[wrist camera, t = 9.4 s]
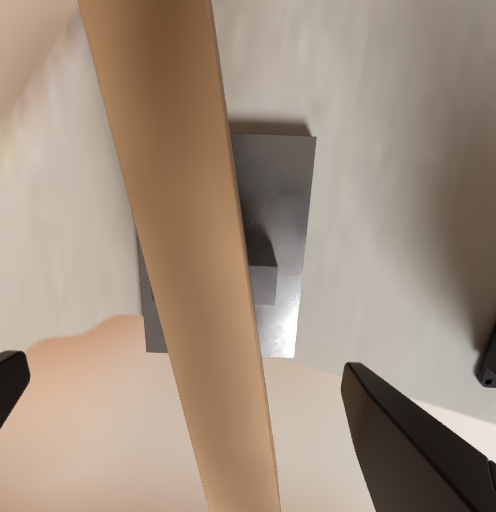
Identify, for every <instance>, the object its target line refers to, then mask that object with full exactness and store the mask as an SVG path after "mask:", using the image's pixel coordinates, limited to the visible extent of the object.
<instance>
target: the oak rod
mask: <svg viewBox="0 0 496 512" xmlns="http://www.w3.org/2000/svg"><path fill="white" fill-rule="evenodd" d="M78 3H79V7H80V11H81V15H82V19H83V23H84V26H85V30H86V34H87V38H88V42H89V46H90V50H91V54H92V58H93V61H94V65H95V69H96V73H97V77H98V81H99V85H100V89H101V93H102V96H103V100H104V104H105V108H106V112H107V116H108V120H109V124H110V128H111V131H112V135H113V139H114V143H115V147H116V151H117V155H118V159H119V163H120V166H121V170H122V174H123V178H124V182H125V186H126V190H127V194H128V198H129V201H130V205H131V209H132V213H133V217H134V221H135V225H136V229H137V233H138V237H139V240H140V244H141V248H142V252H143V256H144V260H145V264H146V268H147V272H148V275H149V279H150V283H151V287H152V291H153V295H154V299H155V303H156V307H157V310H158V314H159V318H160V322H161V326H162V330H163V334H164V338H165V342H166V345H167V349H168V353H169V357H170V361H171V365H172V369H173V373H174V376H175V380H176V384H177V388H178V392H179V396H180V400H181V404H182V408H183V412H184V415H185V419H186V423H187V427H188V431H189V435H190V439H191V443H192V446H193V450H194V454H195V458H196V462H197V466H198V470H199V474H200V478H201V482H202V485H203V489H204V493H205V497H206V501H207V505H208V509H209V512H281V508H280V497H279V486H278V475H277V465H276V457H275V449H274V442H273V435H272V428H271V421H270V414H269V406H268V399H267V392H266V385H265V378H264V371H263V364H262V357H261V350H260V343H259V335H258V328H257V321H256V314H255V307H254V300H253V293H252V286H251V279H250V272H249V265H248V257H247V250H246V243H245V236H244V229H243V222H242V215H241V208H240V201H239V194H238V186H237V179H236V172H235V165H234V158H233V151H232V144H231V137H230V130H229V123H228V116H227V108H226V101H225V94H224V87H223V80H222V73H221V66H220V59H219V52H218V45H217V38H216V30H215V23H214V16H213V9H212V2H211V0H78Z"/></svg>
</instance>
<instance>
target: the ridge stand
mask: <svg viewBox="0 0 496 512" xmlns="http://www.w3.org/2000/svg"><path fill="white" fill-rule="evenodd" d="M230 137H231V144H232V151H233V158H234V165H235V172H236V179H237V186H238V194H239V201H240V208H241V215H242V222H243V229H244V236H245V243H246V250H247V257H248V265H249V272H250V279H251V286H252V293H253V300H254V307H255V314H256V321H257V328H258V335H259V343H260V350H261V356H264V357H265V356H266V357H291V358H293V357H294V348H295V338H296V329H297V319H298V310H299V300H300V290H301V281H302V271H303V262H304V252H305V243H306V233H307V224H308V214H309V205H310V195H311V186H312V176H313V166H314V157H315V147H316V138H317V137H311V136H288V135H264V134H241V133H230ZM137 240H138V252H139V265H140V277H141V290H142V302H143V314H144V326H145V339H146V352H154V353H168V349H167V345H166V342H165V338H164V334H163V330H162V326H161V322H160V318H159V314H158V310H157V307H156V303H155V299H154V295H153V291H152V287H151V283H150V279H149V275H148V272H147V268H146V264H145V260H144V256H143V252H142V248H141V244H140V240H139V237H138V233H137Z"/></svg>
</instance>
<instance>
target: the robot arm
mask: <svg viewBox="0 0 496 512" xmlns="http://www.w3.org/2000/svg"><path fill="white" fill-rule="evenodd" d="M29 381H30V371H29V367H28V363H27V358H26V355H25V353H24V352H22V351H12V350H8V351H4V352H1V353H0V429H1V427H2V425H3V424H4V422H5V421H6V419H7V417H8V416H9V414H10V413H11V411H12V409H13V408H14V406H15V405H16V403H17V401H18V400H19V398H20V397H21V395H22V393H23V392H24V390H25V388H26V387H27V385H28V383H29ZM478 382H479V383H480V384H481V385H482V386H484V387H488V388H496V326H495V329H494V332H493V335H492V338H491V341H490V344H489V347H488V349H487V352H486V355H485V358H484V361H483V364H482V367H481V370H480V373H479V375H478ZM341 395H342V399H343V403H344V407H345V411H346V416H347V419H348V424H349V428H350V432H351V437H352V441H353V445H354V448H355V452H356V455H357V458H358V461H359V464H360V467H361V470H362V472H363V476H364V479H365V481H366V484H367V487H368V490H369V493H370V496H371V499H372V501H373V504H374V507H375V510H376V512H496V463H494V462H493V461H491V460H489V461H488V459H487V457H486V456H485V455H483V454H482V453H481V452H479V451H478V450H477V449H475V448H474V447H473V446H471V445H470V444H469V443H467V442H466V441H465V440H463V439H462V438H461V437H459V436H458V435H457V434H455V433H454V432H453V431H451V430H450V429H449V428H447V427H446V426H445V425H443V424H442V423H441V422H439V421H438V420H437V419H435V418H434V417H433V416H431V415H430V414H429V413H427V412H426V411H425V410H423V409H422V408H421V407H419V406H418V405H417V404H415V403H414V402H413V401H411V400H410V399H409V398H407V397H406V396H405V395H403V394H402V393H401V392H399V391H398V390H397V389H395V388H394V387H393V386H391V385H390V384H389V383H387V382H386V381H385V380H383V379H382V378H381V377H379V376H378V375H377V374H375V373H374V372H373V371H371V370H370V369H369V368H367V367H366V366H365V365H363V364H362V363H359V362H347V363H346V364H345V366H344V371H343V377H342V383H341Z"/></svg>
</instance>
